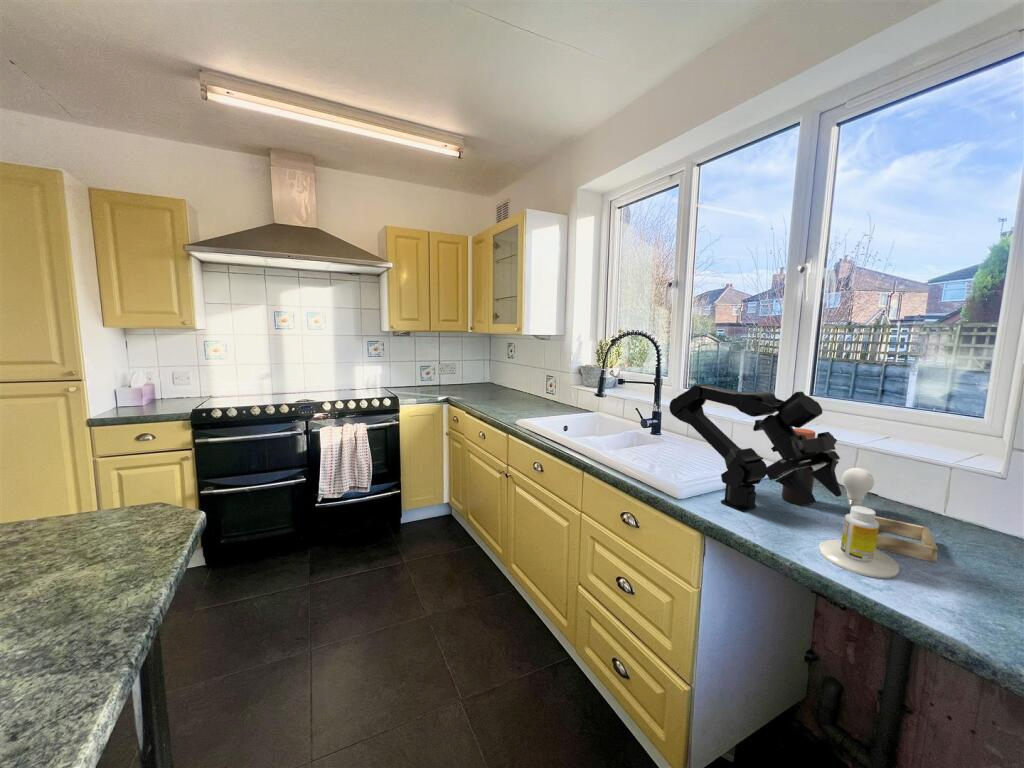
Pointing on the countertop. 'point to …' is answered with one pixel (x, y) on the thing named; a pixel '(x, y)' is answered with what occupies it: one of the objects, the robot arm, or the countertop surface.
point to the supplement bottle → (860, 534)
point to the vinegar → (808, 477)
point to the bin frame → (903, 546)
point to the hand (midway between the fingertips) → (826, 499)
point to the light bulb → (857, 485)
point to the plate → (876, 568)
